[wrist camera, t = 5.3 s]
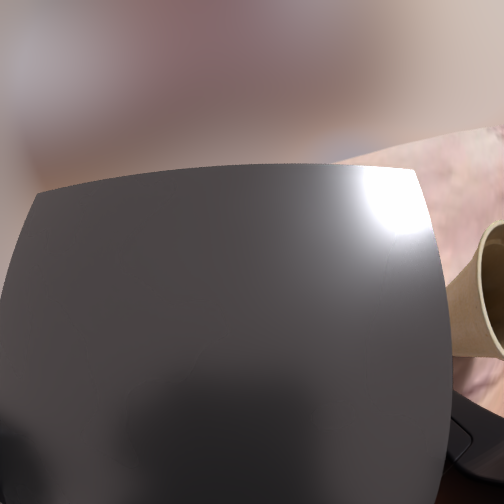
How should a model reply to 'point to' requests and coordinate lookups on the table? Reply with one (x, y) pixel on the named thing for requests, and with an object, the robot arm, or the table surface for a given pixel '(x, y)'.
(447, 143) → the table surface
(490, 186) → the table surface
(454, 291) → the flower pot
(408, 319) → the dark grey square block
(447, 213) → the table surface
